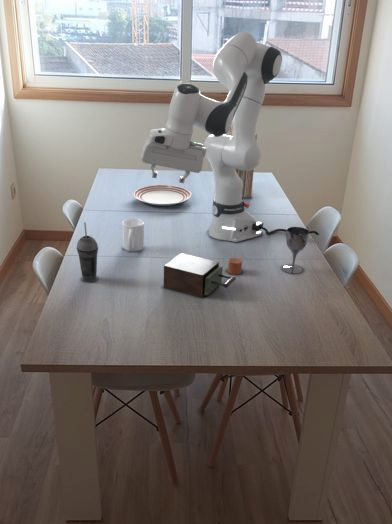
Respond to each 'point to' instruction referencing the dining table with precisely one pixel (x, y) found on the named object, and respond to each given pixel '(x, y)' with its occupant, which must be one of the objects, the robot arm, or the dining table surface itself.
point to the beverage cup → (88, 256)
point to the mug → (133, 234)
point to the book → (245, 175)
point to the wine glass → (295, 245)
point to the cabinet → (187, 274)
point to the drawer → (215, 280)
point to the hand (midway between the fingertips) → (167, 179)
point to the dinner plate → (162, 195)
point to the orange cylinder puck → (234, 266)
